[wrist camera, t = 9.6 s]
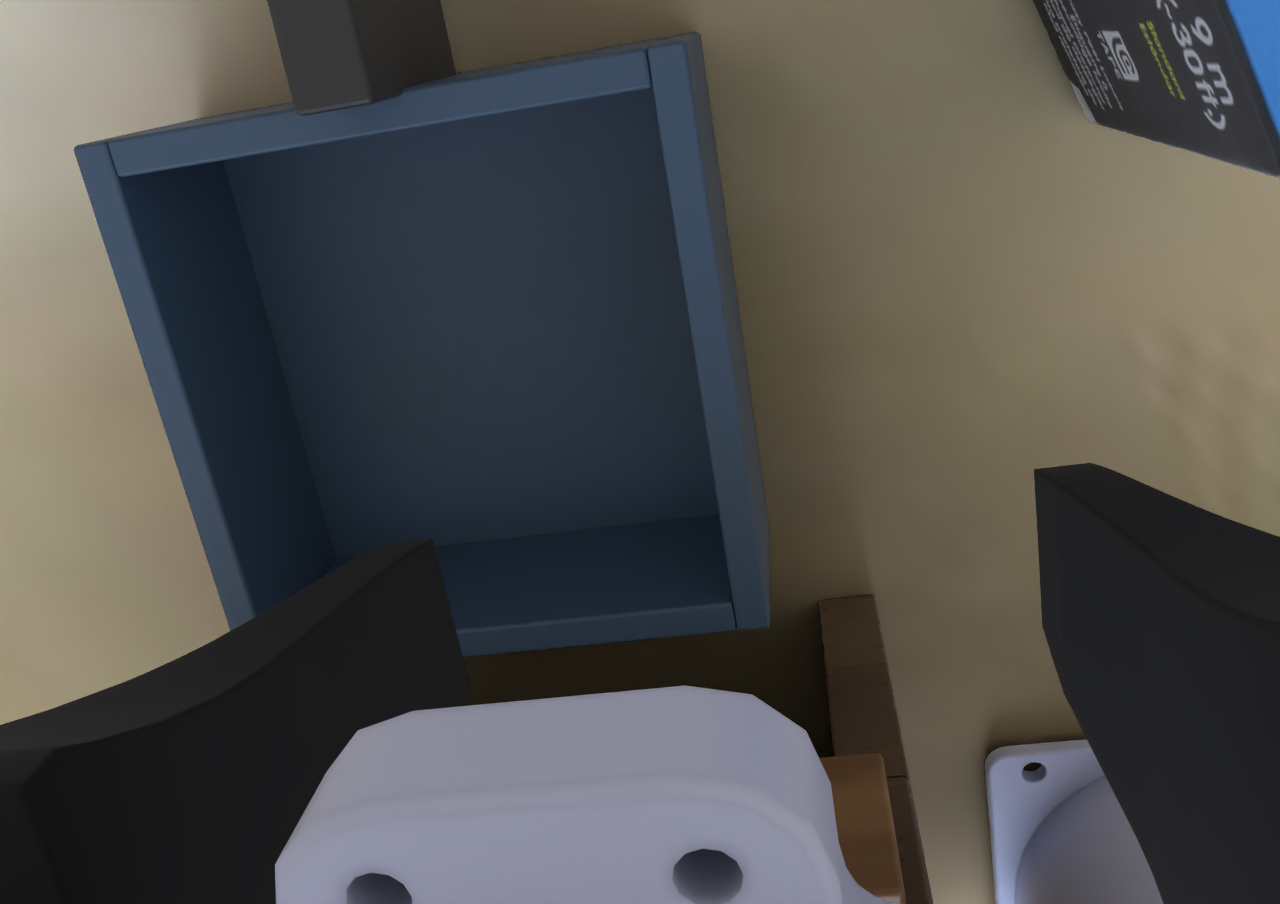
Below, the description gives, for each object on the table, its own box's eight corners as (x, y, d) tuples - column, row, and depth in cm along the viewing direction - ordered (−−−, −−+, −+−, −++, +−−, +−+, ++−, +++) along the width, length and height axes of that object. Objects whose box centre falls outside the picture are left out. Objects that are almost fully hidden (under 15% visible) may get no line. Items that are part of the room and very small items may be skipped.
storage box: (647, -342, 19) (602, -475, 14) (769, 522, 25) (771, 674, 19) (98, -218, 21) (-141, -296, 15) (326, 572, 26) (210, 726, 21)
